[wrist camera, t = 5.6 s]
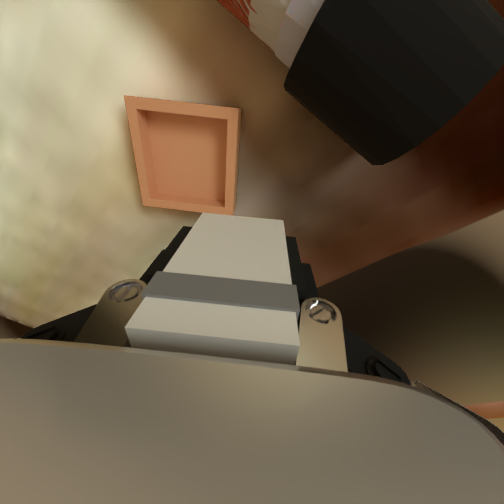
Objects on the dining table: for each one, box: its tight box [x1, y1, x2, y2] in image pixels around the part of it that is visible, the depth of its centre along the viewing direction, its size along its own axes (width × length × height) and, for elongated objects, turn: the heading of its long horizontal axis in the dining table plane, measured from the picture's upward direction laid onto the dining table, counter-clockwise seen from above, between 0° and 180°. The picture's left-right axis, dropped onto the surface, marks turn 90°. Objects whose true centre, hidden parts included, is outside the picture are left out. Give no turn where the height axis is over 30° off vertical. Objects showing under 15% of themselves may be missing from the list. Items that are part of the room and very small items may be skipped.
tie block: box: [125, 213, 300, 365], centre depth 9 cm, size 4×4×7 cm
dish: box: [124, 95, 242, 215], centre depth 25 cm, size 11×11×3 cm
